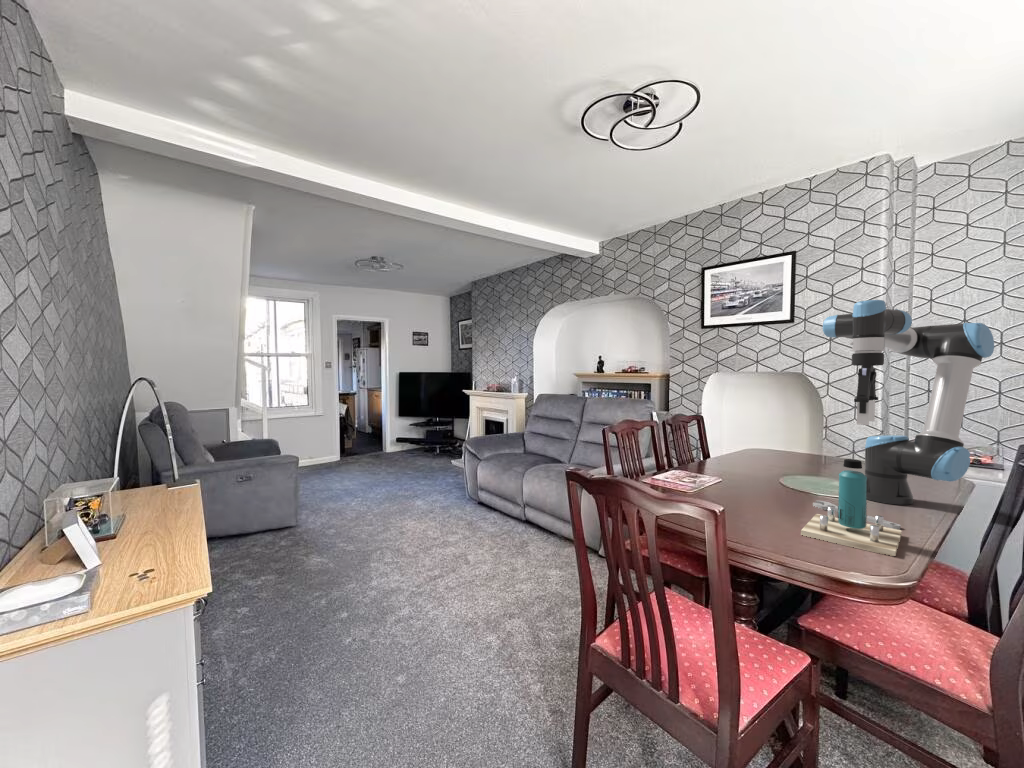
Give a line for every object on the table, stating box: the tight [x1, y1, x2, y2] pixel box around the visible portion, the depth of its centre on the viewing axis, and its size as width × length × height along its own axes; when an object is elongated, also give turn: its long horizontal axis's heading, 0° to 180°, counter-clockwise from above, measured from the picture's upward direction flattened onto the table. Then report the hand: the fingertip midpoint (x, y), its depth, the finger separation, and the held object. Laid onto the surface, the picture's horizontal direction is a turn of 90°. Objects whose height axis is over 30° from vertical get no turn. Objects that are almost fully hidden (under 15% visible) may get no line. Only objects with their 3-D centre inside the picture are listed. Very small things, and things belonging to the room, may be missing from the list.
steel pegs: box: [820, 507, 885, 543], centre depth 122 cm, size 13×13×4 cm
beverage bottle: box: [837, 458, 868, 529], centre depth 122 cm, size 6×7×20 cm
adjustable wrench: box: [812, 500, 901, 530], centre depth 139 cm, size 25×6×2 cm, turn 16°
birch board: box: [800, 513, 903, 557], centre depth 122 cm, size 20×20×2 cm
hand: (865, 422), depth 131 cm, fingers open, 13 cm apart
